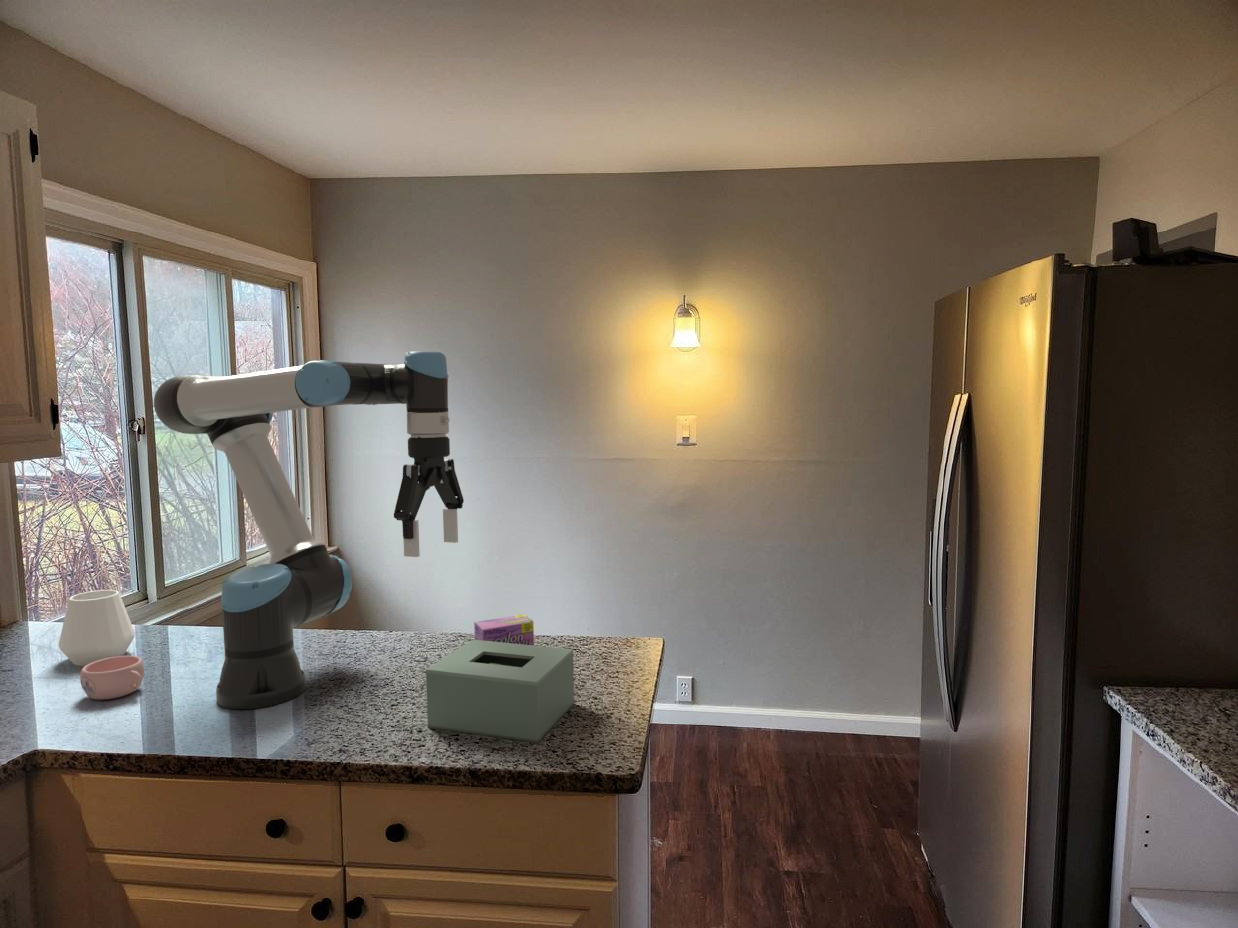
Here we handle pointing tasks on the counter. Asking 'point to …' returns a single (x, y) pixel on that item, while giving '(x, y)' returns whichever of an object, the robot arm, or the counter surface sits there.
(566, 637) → the counter surface
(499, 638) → the box
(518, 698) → the box
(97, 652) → the white faceted vase
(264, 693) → the robot arm
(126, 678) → the mug
